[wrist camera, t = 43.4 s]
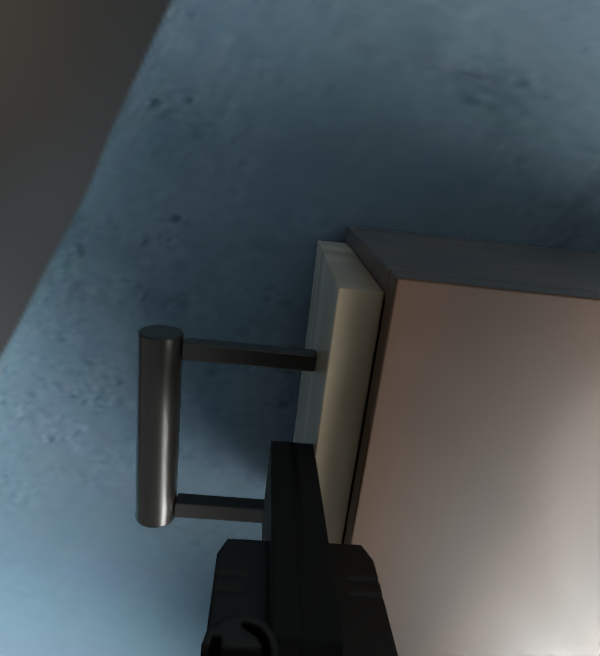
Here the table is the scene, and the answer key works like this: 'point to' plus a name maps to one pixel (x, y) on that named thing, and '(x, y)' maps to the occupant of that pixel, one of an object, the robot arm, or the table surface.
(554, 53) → the table surface
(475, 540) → the cabinet
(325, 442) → the drawer
